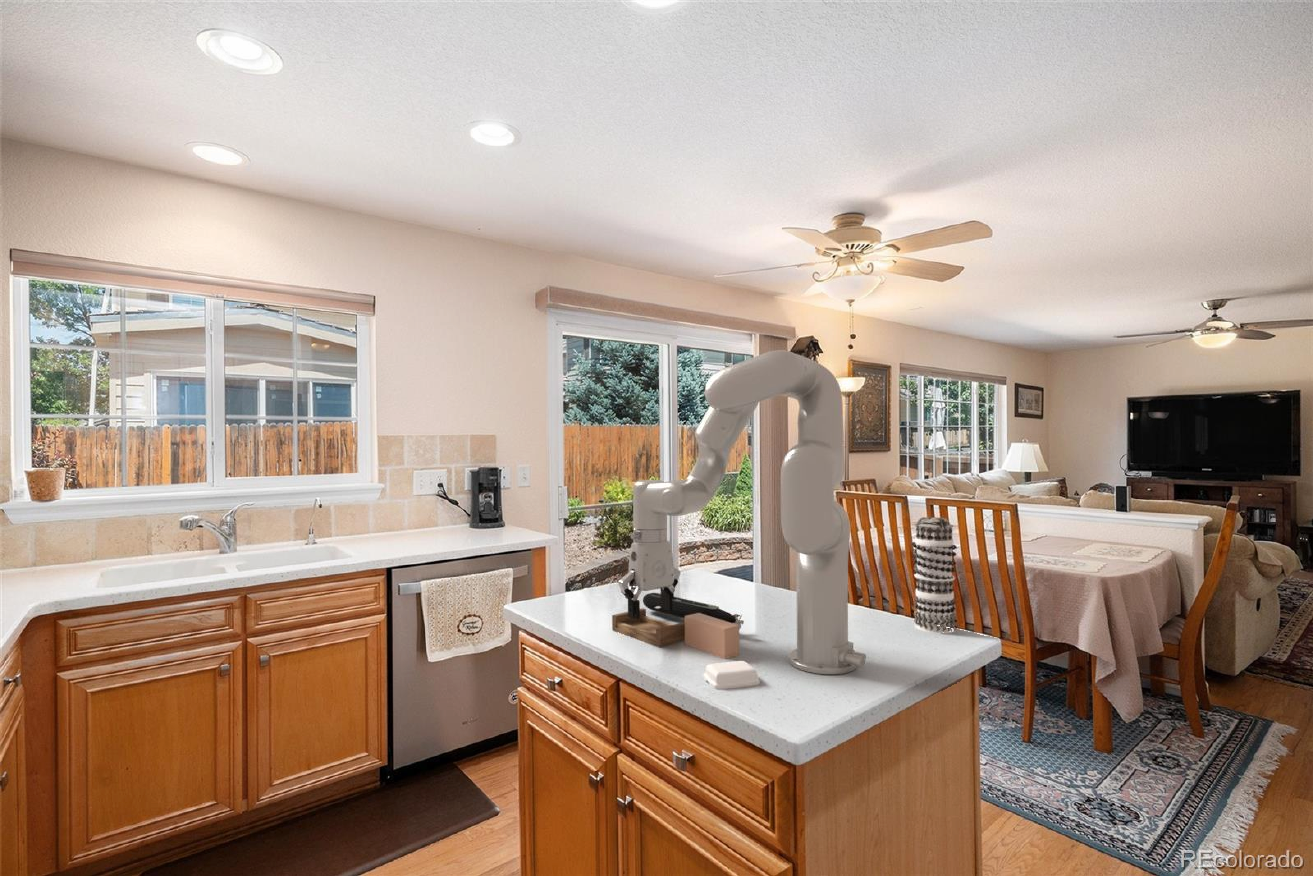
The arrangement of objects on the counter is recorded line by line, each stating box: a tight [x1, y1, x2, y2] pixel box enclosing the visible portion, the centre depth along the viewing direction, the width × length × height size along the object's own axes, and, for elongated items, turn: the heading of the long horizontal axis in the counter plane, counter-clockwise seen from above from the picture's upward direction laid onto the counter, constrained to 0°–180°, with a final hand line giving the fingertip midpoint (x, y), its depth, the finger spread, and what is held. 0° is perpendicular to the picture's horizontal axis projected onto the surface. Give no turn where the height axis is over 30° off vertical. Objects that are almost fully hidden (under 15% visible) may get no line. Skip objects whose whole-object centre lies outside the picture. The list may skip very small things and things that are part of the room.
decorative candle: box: [911, 516, 958, 634], centre depth 143 cm, size 9×9×25 cm
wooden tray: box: [611, 607, 685, 648], centre depth 140 cm, size 16×9×4 cm, turn 42°
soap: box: [702, 660, 761, 690], centre depth 113 cm, size 9×7×3 cm
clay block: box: [684, 613, 740, 660], centre depth 130 cm, size 12×4×6 cm, turn 38°
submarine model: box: [642, 588, 745, 630], centre depth 148 cm, size 31×7×10 cm, turn 43°
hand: (650, 613), depth 140 cm, fingers open, 9 cm apart
